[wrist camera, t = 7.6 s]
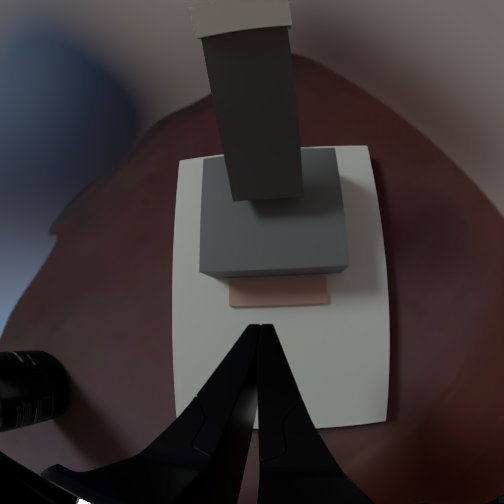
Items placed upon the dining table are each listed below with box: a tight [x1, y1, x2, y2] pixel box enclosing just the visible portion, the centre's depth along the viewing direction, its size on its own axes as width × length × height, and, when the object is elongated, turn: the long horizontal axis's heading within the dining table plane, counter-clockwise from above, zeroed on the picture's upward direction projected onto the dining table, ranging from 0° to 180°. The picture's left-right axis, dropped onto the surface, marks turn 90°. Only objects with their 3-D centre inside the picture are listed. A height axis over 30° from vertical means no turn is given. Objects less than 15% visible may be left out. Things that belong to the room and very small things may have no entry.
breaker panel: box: [172, 146, 390, 429], centre depth 17 cm, size 19×14×4 cm
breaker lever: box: [189, 0, 304, 202], centre depth 12 cm, size 2×4×10 cm
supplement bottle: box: [0, 350, 69, 432], centre depth 15 cm, size 7×7×12 cm
